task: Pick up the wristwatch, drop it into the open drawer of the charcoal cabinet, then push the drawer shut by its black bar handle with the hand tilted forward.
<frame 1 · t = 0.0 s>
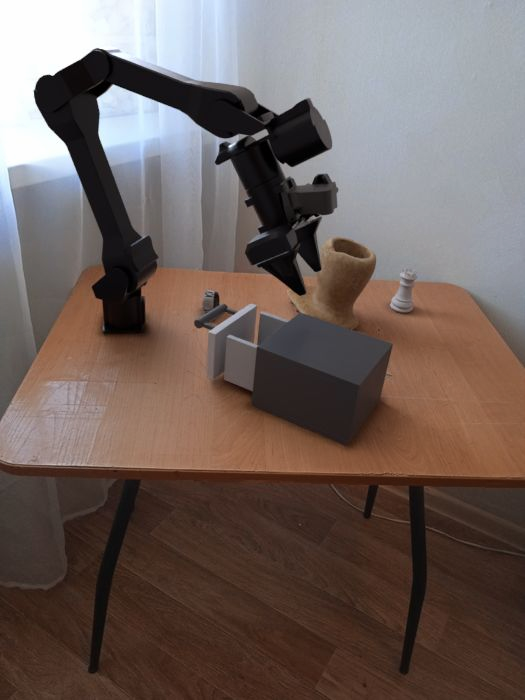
hand: (311, 282, 81), 15 cm above the table, tool tilted 35°, fingers open, 9 cm apart
stone cup: (327, 317, 105), on the table
cabinet: (317, 402, 81), on the table
rook chess piece: (400, 309, 111), on the table
wristwatch: (208, 313, 102), on the table
drawer: (255, 349, 83), point 5 cm above the table, slide at 7.0 cm
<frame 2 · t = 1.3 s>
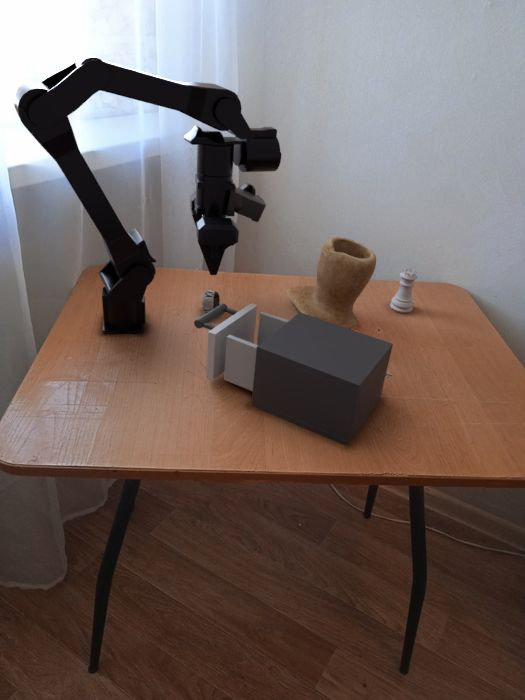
hand: (210, 263, 97), 10 cm above the table, tool pointing down, fingers open, 9 cm apart
nothing on the table moved.
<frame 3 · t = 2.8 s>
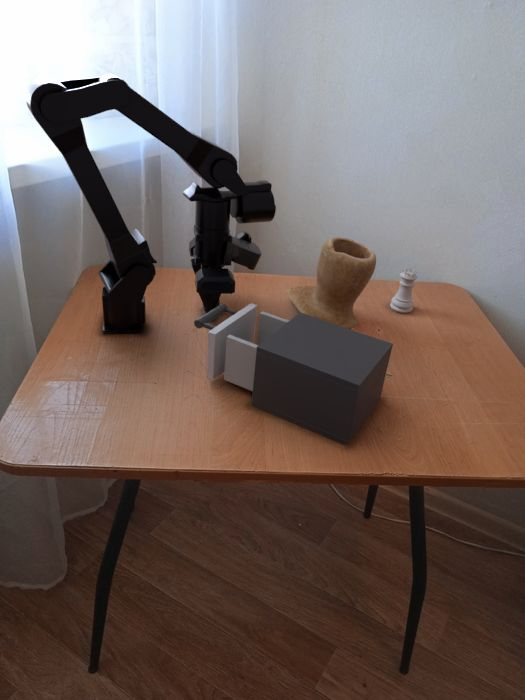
hand: (208, 307, 102), 1 cm above the table, tool pointing down, fingers closed on wristwatch, 5 cm apart
wristwatch: (208, 313, 102), on the table, touching gripper
everything else where it was.
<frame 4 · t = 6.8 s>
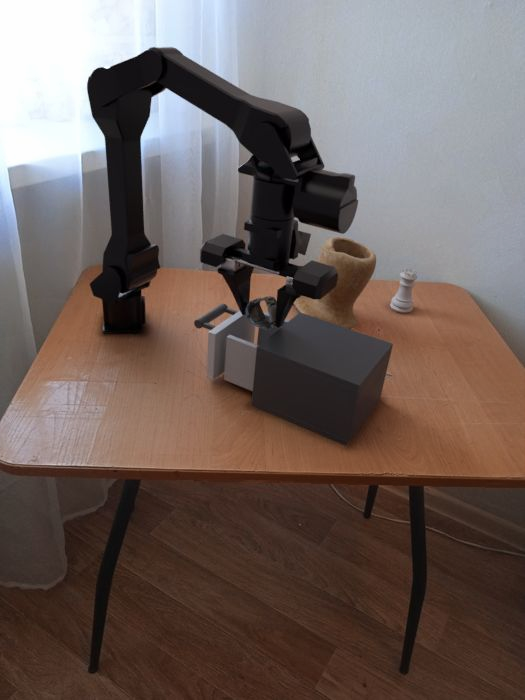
hand: (261, 320, 80), 10 cm above the table, tool pointing down, fingers closed on wristwatch, 5 cm apart
wristwatch: (260, 326, 81), point 9 cm above the table, touching gripper
everything else where it was.
when the fingers open (11 cm above the table, at t = 15.1 s): wristwatch drops 7 cm, resting on drawer.
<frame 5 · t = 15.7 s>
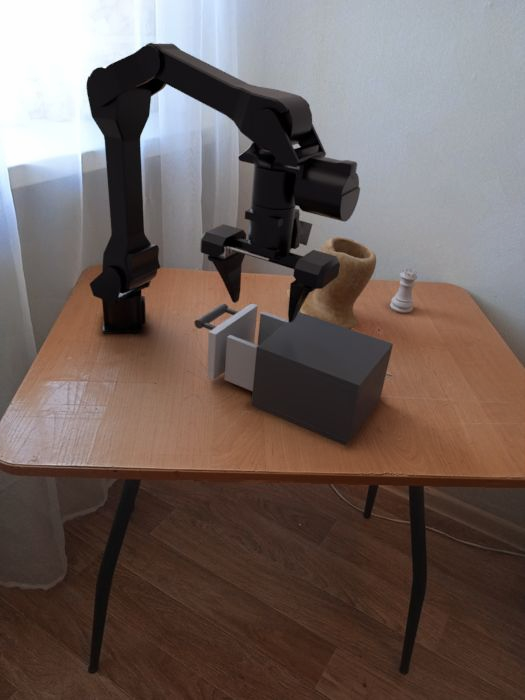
hand: (263, 311, 79), 11 cm above the table, tool pointing down, fingers open, 9 cm apart
wristwatch: (256, 363, 84), point 3 cm above the table, touching drawer
drawer: (256, 349, 83), point 5 cm above the table, slide at 6.9 cm, touching wristwatch
everything else where it was.
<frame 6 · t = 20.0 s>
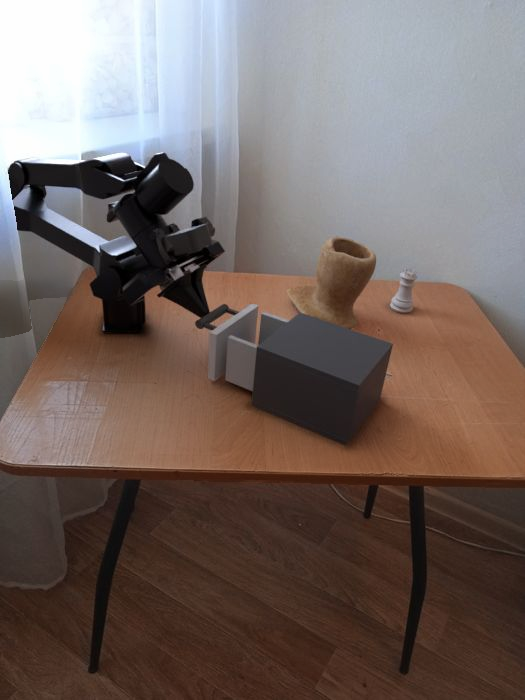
hand: (207, 317, 85), 7 cm above the table, tool tilted 45°, fingers closed, pressing on drawer
drawer: (257, 350, 83), point 5 cm above the table, slide at 6.8 cm, touching gripper, wristwatch
everything else where it was.
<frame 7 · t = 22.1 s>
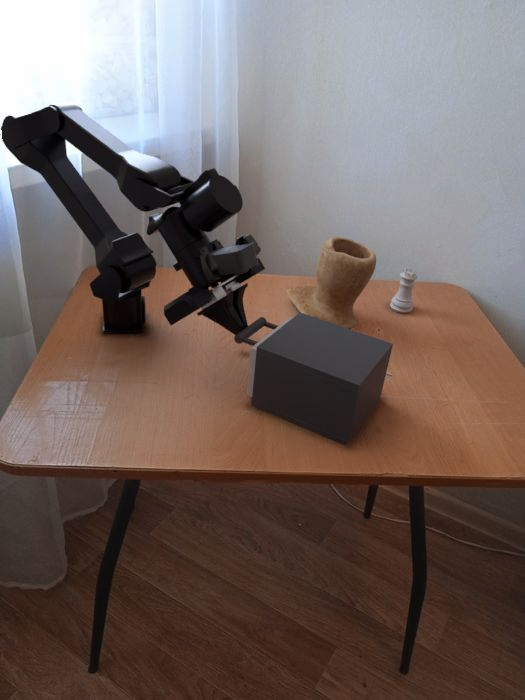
hand: (246, 338, 83), 6 cm above the table, tool tilted 40°, fingers closed, pressing on drawer
wristwatch: (297, 379, 81), point 3 cm above the table, touching drawer
drawer: (297, 365, 80), point 5 cm above the table, slide at 0.0 cm, touching cabinet, gripper, wristwatch
everything else where it was.
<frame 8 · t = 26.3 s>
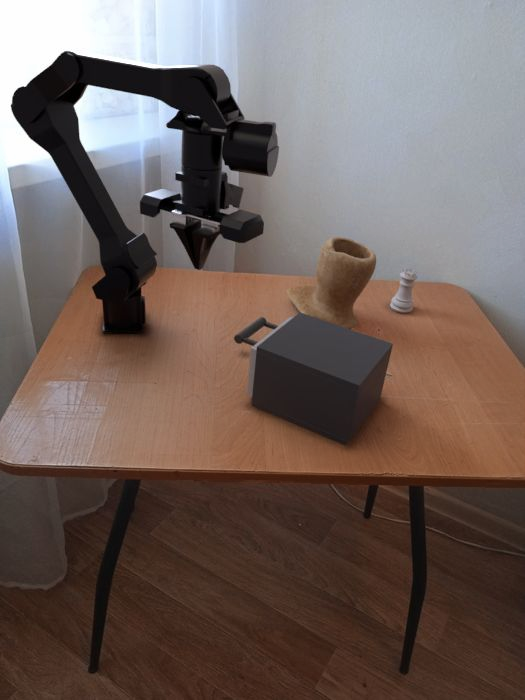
hand: (198, 268, 86), 13 cm above the table, tool pointing down, fingers closed
drawer: (297, 365, 80), point 5 cm above the table, slide at 0.0 cm, touching wristwatch
everything else where it was.
at the end: drawer slide at 0.0 cm; wristwatch inside the target area in the cabinet (2.8 cm from its centre), point 2.7 cm above the cabinet's base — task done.
